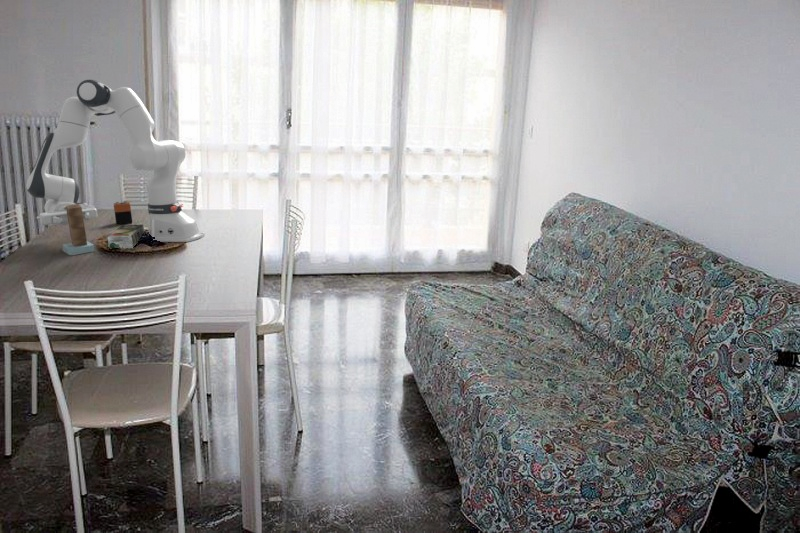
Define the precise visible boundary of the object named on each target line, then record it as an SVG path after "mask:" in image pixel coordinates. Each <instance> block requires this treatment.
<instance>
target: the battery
mask: <svg viewBox="0 0 800 533" xmlns="http://www.w3.org/2000/svg"><path fill="white" fill-rule="evenodd" d="M131 208H132V207H131V203H130V201H128V200H123V201H122V202H120V201H115V202H114V203H113V211H114V216H115V217H114V218H115V224H116V225H131V224H132V223H133V218H132V217H133V216H132V209H131Z"/></svg>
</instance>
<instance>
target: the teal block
mask: <svg viewBox="0 0 800 533" xmlns="http://www.w3.org/2000/svg"><path fill="white" fill-rule="evenodd" d="M61 246H62V252H64V253H65V254H67V255H68V256H74V255H81V254H87V253H92V252H93V253H94V252H95V251H96V250H95V244H93V243H91V242H90V241H88V240H87V245H82V246H76V247H74V245H73V244H72V242H70V243H66V244H65V243H64V244H62V245H61Z"/></svg>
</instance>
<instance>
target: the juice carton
mask: <svg viewBox="0 0 800 533" xmlns="http://www.w3.org/2000/svg"><path fill="white" fill-rule="evenodd" d="M143 233H144V234H145V227H144V225H143V224H120V226H119V227H118V228H116V230H114V231H113V232H112V233H110V234H109V235H108V236H107V237H106V238H107V243H108V244H107V247H110V248H117V247H123V248H133V247H134V246H135V245H136V244H137V243H138V241H139V239H140V238H141V236H142V234H143ZM137 245H138V244H137ZM134 248H135V247H134ZM134 248H133V249H134Z"/></svg>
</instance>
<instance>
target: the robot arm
mask: <svg viewBox="0 0 800 533" xmlns="http://www.w3.org/2000/svg"><path fill="white" fill-rule="evenodd" d="M115 113H116V115H117V117H118V119H119V120H120V122H121V123H122V126H123V127H124V129H125V130H126V133H127V135H128V136H129V140H130V141H129V142H130V149H129V150H128V156H127V158H128V162H129V163H130V166H131V167H132V168H133V169H135V170H137V171H142V172H145V171H146V172H149V171H153V173H152V177H151V178H150V180H148V182H147V184H146V193H147V200H148V203H147V211H148V215H149V233H148V235H149V234H150V235H151V236H152V237H155V239H153V240H157V241H160V242H161V243H162V242H163V243H164V242H166V243H168V242H177V243H179V242H181V243H185V242H192V241H196V240H199V239H201V238H203V237H204V236H205V235H206V234H205V232H204V231H199V226H198V222H197V221H196V220H195V219H194V218H192V217H191V216H189V215H188V214H187V213H185V212H184V211H183V209H182V208H183V207H184V203H181V204H180V203H179V201H178V199H177V198H178V197H177V177H178V172H179V169H180V167H181V165H182V163H183V162H184V161H185V158H186V154H187V153H186V149H185V147H184V144H182V143H181V142H180V141H178V140H172V139H163V140H162V139H161V140H156V139H155V138H154V135H153V131H154V130H155V127H156V123H155V120H154V119H153V117H152V116H151V114H150V112H149V111H148V109H147V107H146V105H145V104H144V102H143V101H142V100H141V98H140V97H139V96H138V94H137V93H136V92H135V91H134V90H133V89H132V88H131V87H128V86H121V87H118V88H116V89H112V88H110V87H109V86H108V85H106V84H104V83H102V82H100V81H98V80H95V79H85V80H82V81H81V82H80V83H79V84H78V86H77V89H76V96H71V97H68V98H66V99H65V101H64V103H63V105H62V108H61V111H60V114H59V117H58V118H59V119H58V124H57V126H56V128H55V130H54V131H52V132H49V133H48V134H47V135H46V137H45V139H44V140H43V143H42V145H41V148H40V149H39V153H38V156H37V157H36V160H35V164H34V166H33V168H32V170H31V172H30V174H29V176H28V179H27V181H26V191H27V192H28V193H29V194H30V196H31V197H33V198H35V199H36V198H37V199H38V198H39V199H48V200H46V202H45V203H44V212H40V213H39V216H38V215H37V216H36V220H39V221H40V224H41V225H42V226H44V225H45V226H48V225H53V224H59V225H62V226H69V223H68V217H67V211H66V206H67V205H74V204H79V205H80V206H81V207H82V214H83V220H84V221H85V220H92V219H97V218H98V210H97V208H96V207H94V206H92V205H88V204H87V202H78V200H79V198H80V186H79V185H78V183H77V181H76V180H75V179H74V178H70V177H66V176H62V175H61V176H59V175H55V174H49V173H47V172H46V171H47V169H48V167H49V165H50V161H51V159H52V156H53V154H54V153H55V152H56V151H59V150H62V149H69V148H76V147H78V146H81V145H82V144H84V143H85V142H86V141H87V138H88V134H89V130H90V124H91V119H92V117H93V116H94V115H95V116H97V117H99V116H109V115H113V114H115Z"/></svg>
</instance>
